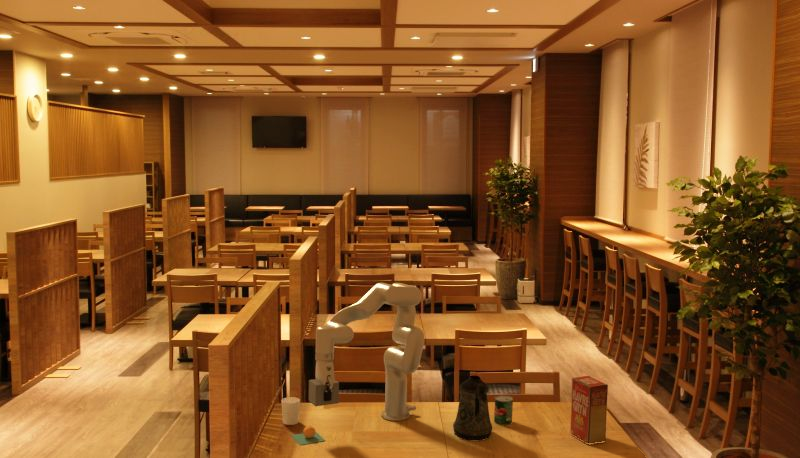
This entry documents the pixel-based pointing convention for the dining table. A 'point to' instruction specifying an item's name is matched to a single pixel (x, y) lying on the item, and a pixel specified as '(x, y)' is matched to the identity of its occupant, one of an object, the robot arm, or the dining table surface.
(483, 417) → the beer stein
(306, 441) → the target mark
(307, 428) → the ball
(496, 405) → the canned tomato
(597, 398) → the food packaging
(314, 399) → the grey rectangular box
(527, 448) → the dining table surface
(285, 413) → the white cup
